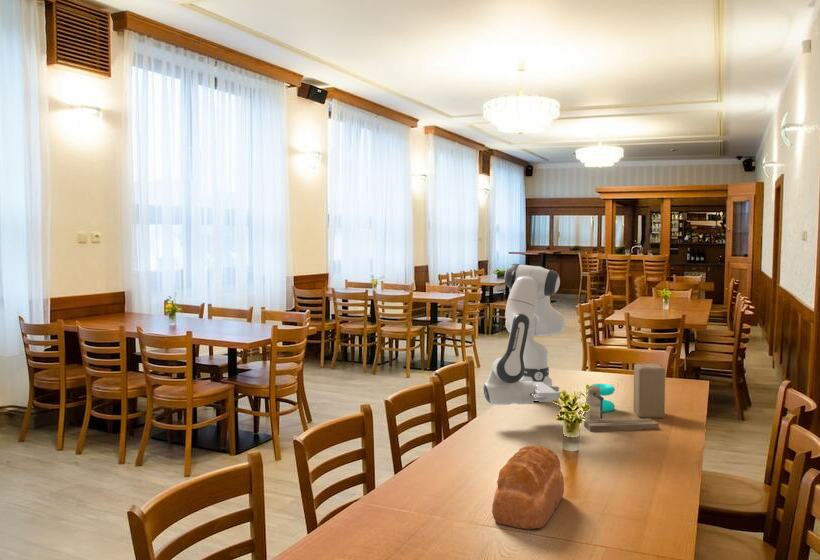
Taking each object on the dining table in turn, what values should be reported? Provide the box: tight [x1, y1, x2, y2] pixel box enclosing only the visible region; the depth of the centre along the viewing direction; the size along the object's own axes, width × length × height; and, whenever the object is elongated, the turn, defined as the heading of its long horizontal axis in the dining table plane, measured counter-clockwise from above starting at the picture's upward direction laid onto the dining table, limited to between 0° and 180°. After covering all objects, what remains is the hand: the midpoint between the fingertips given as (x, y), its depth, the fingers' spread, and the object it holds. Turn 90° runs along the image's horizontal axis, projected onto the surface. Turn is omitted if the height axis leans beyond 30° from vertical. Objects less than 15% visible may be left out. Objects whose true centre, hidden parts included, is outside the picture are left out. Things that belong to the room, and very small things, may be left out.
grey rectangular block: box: [633, 363, 666, 419], centre depth 267 cm, size 10×10×20 cm
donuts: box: [590, 383, 616, 413], centre depth 277 cm, size 10×10×10 cm
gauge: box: [585, 385, 605, 421], centre depth 254 cm, size 11×4×14 cm, turn 5°
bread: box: [491, 445, 565, 530], centre depth 177 cm, size 14×26×16 cm, turn 154°
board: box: [583, 418, 660, 432], centre depth 251 cm, size 7×26×2 cm, turn 95°
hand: (562, 391), depth 255 cm, fingers open, 8 cm apart
